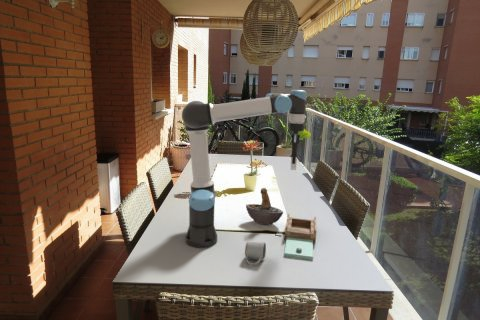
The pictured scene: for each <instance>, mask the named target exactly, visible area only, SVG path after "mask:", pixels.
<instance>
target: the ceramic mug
mask: <svg viewBox="0 0 480 320" xmlns="http://www.w3.org/2000/svg"><path fill="white" fill-rule="evenodd" d="M266 248H267V244H266V242H264V241H248V242H246V244H245V247H244V255H245V260H246V263H247V264H248V265H249V266H251V267H253V266H254V267H255V266H257V265H259V264H260V263H261V262H264V261H265V259H266V253H267V249H266ZM249 260H255V261H256V262H251V261H249Z"/></svg>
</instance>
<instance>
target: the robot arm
mask: <svg viewBox="0 0 480 320" xmlns="http://www.w3.org/2000/svg"><path fill="white" fill-rule="evenodd" d="M306 106H307V91H306V90H302V89H291V91H290V93H274V92H273V93H267V94H266V95H265V97H258V98H251V99H245V100H239V101H232V102H224V103H218V104H212V103H211V102H209V103H204V102H202V101H199V100H192V101H190V102H188V103H187V104H186V105H185V106H184V107H183V109H182V111H181V119H182V122H183V123H184V131H185V132H186V133H188V137H189V138H188V140H189V150H190V162H191V172H192V182H191V183H190V195H189V199H188V204H189V206H188V207H189V208H188V211H189V213H188V216H189V217H188V220H189V221H188V223H189V225H188V228H187V231H186V232H185V233H186V234H185V238H184V239H185V243H186V244H187V245H188V246H190V247H193V248H208V247H211V246H215V244H217V243H218V233H217V230H216V227H215V203H216V192H215V183H214V181H213V180H212V179H211V169H210V160H209V144H208V131H209V130H210V126H214V125H215V123H217V122H224V121H231V120H237V119H244V118H245V119H246V118H251V117H259V116H263V115H270V114H271V115H272V114H279V113H280V114H284V113H288V112H289V114H288V128H287V129H288V130H289V131H291V132H293V133H291V137H290V138H291V144H292V145H291V155H289V157H290V159H291V160H290V170H291V171H296V170H297V159H298V157H299V155H298V146H299V145H298V144H299V143H300V137H301V134H300V133H299V132H303V131H305V122H306V121H305V119H306V118H307V116H306Z"/></svg>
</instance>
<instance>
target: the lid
mask: <svg viewBox="0 0 480 320" xmlns="http://www.w3.org/2000/svg"><path fill="white" fill-rule="evenodd" d="M285 240H286V241H285V245H284V247H285V248H284V255H283V256H284V257H287V258H295V259H303V260H312V261H313V260H314V243H313V240H308V239H300V238H291V237H287V239H285Z"/></svg>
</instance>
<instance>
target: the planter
mask: <svg viewBox="0 0 480 320" xmlns="http://www.w3.org/2000/svg"><path fill="white" fill-rule="evenodd" d="M260 194H261V199H262V200H261V203H260V204H259V203H257V204H255V203H253V204H252V203H249V204H246V205H245V209H246V211H247V213H248V216H249V217H250V218H251V219H252V220H253V222H255V223H258V224H261V225H266V224H270V225H273V224H274V223H277V222H278V221H279V220H280V218H282V216H283V214H284V211H283V210H282V209H280V208H277V207H274V206H272V204H271V200H270V196H269V193H268V189H267V188H266V187H263V188H262V187H261V189H260Z"/></svg>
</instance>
